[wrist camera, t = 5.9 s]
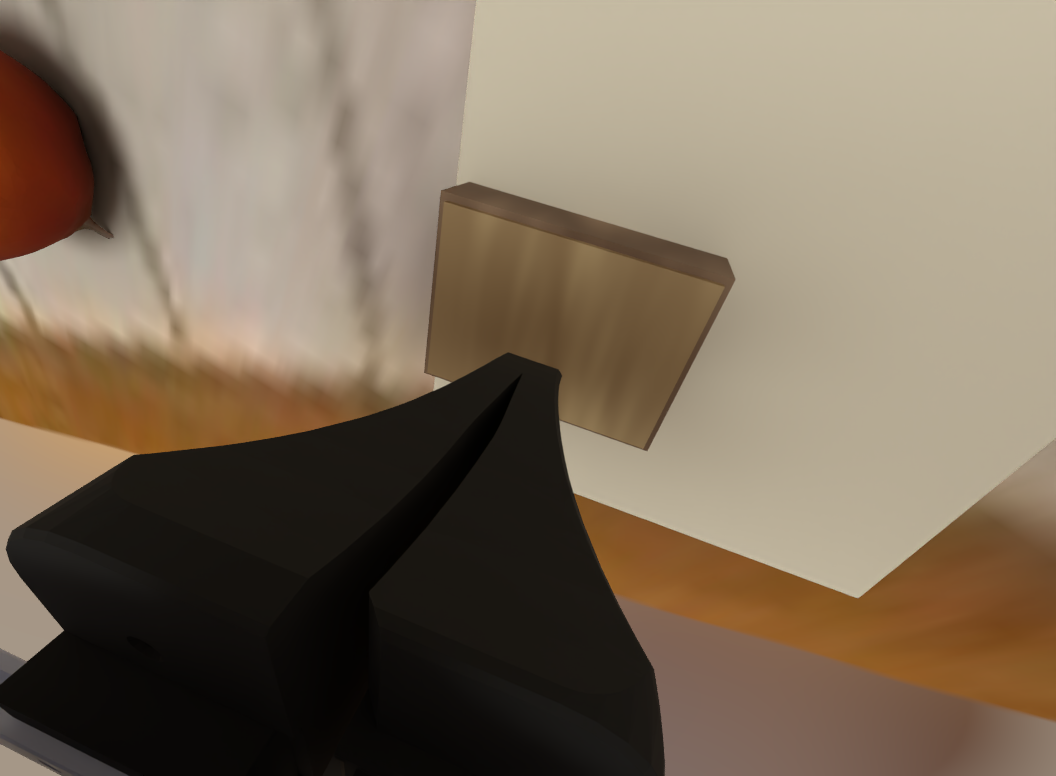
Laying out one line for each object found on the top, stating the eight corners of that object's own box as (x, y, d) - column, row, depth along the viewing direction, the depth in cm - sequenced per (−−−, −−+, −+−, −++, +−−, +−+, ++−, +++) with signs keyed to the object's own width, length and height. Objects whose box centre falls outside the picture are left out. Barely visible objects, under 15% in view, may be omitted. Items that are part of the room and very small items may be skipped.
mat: (1508, 44, 8) (1546, 40, 7) (854, 589, 18) (858, 598, 17) (500, -160, 10) (495, -169, 9) (432, 433, 20) (428, 438, 20)
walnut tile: (736, 282, 11) (437, 191, 11) (647, 455, 14) (421, 375, 15) (727, 258, 12) (469, 181, 13) (649, 417, 16) (448, 347, 17)
